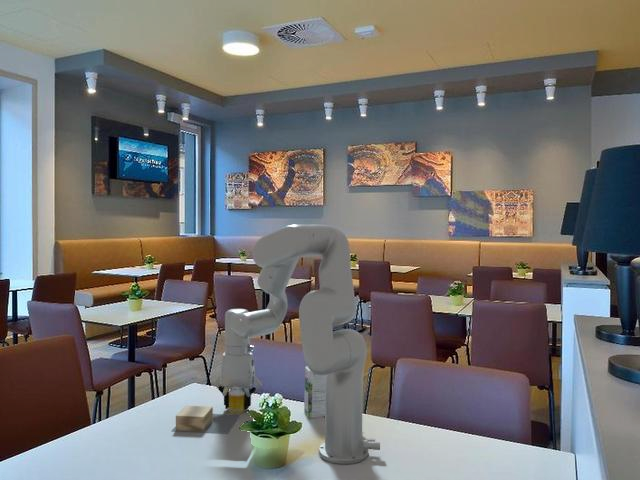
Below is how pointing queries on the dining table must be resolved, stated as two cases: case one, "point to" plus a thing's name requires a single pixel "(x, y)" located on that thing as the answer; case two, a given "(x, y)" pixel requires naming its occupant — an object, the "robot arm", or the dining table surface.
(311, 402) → the syrup box
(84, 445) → the dining table surface
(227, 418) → the mat
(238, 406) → the supplement bottle
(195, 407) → the oak block
